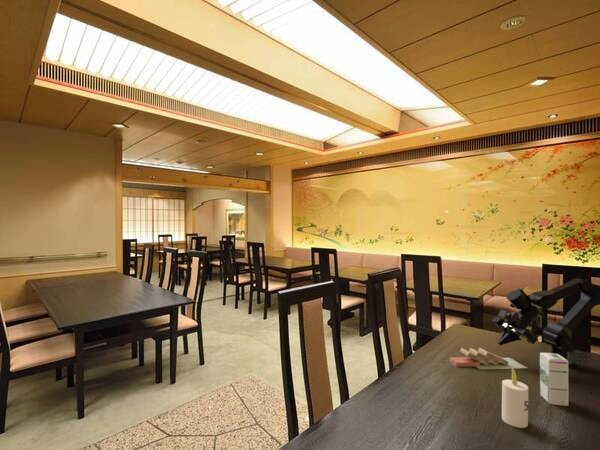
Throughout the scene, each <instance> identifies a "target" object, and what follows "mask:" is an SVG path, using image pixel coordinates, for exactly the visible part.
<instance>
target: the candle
mask: <svg viewBox="0 0 600 450" xmlns="http://www.w3.org/2000/svg"><path fill="white" fill-rule="evenodd" d="M529 402H530V401H529V386H528V385H527V384H525V383H523V382H521V381H520V380H519V381H518V377H517V373H516V371H515V369H513V368H512V369H511V379H503V380H502V381H501V419H502V421H503V422H504V423H506V424H508V425H509V426H512V427H515V428H519V429H525V428H528V425H529Z"/></svg>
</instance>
